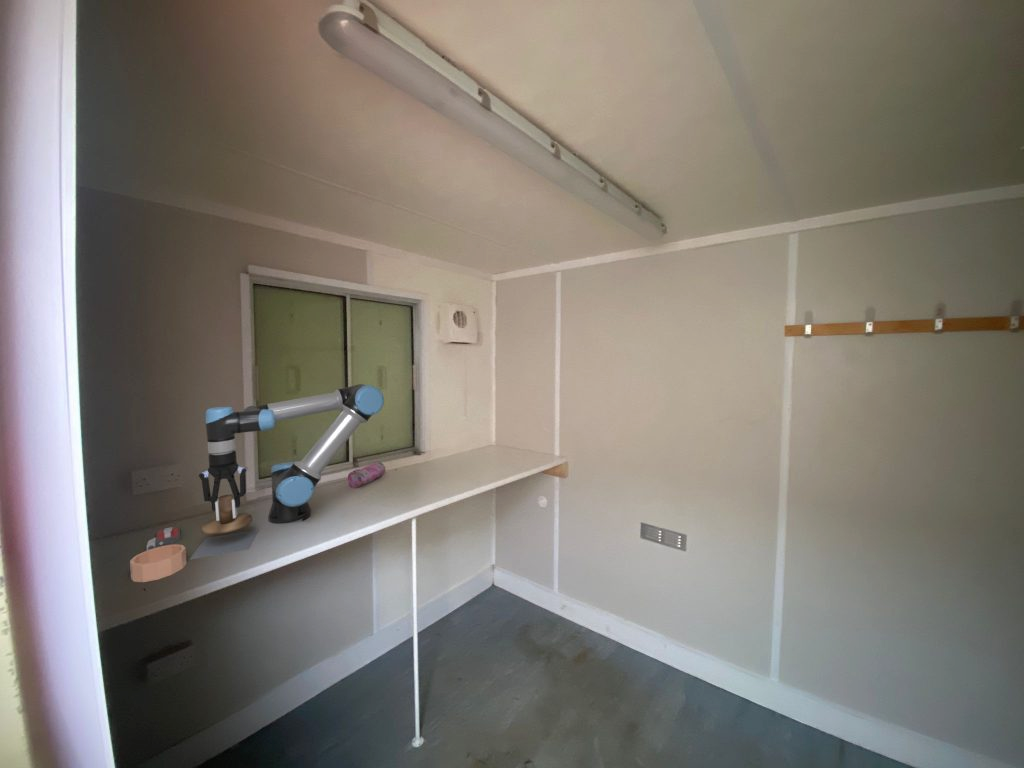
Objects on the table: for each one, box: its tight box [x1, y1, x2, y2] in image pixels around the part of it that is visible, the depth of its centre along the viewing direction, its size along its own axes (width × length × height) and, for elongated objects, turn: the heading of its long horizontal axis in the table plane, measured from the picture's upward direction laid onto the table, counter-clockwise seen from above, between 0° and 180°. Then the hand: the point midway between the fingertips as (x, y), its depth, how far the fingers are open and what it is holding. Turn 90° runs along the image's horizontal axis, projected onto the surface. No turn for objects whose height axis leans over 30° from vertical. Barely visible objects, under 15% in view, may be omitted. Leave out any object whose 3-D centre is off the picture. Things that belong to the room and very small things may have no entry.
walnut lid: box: [201, 494, 253, 536], centre depth 131 cm, size 14×14×10 cm
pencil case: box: [347, 461, 386, 489], centre depth 199 cm, size 21×9×9 cm, turn 161°
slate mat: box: [188, 529, 259, 561], centre depth 131 cm, size 16×16×1 cm
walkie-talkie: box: [146, 525, 182, 551], centre depth 132 cm, size 9×4×20 cm
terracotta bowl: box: [129, 543, 187, 583], centre depth 114 cm, size 12×12×6 cm
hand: (227, 517), depth 131 cm, fingers closed on walnut lid, 4 cm apart
